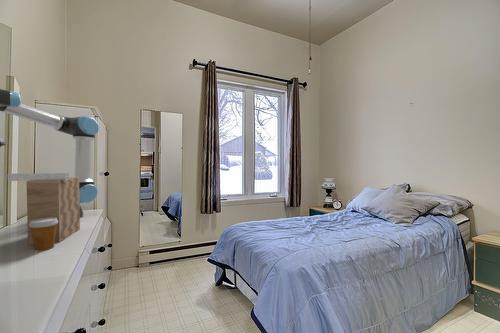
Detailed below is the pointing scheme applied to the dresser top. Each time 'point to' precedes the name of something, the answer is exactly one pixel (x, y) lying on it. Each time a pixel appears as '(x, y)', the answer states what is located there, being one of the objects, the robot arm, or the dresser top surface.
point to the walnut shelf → (54, 205)
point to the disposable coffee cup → (43, 233)
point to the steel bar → (38, 176)
